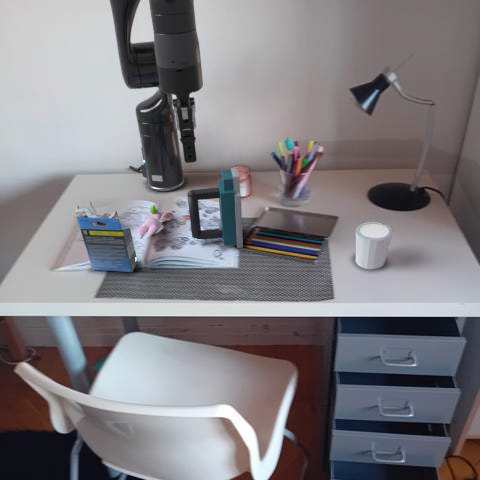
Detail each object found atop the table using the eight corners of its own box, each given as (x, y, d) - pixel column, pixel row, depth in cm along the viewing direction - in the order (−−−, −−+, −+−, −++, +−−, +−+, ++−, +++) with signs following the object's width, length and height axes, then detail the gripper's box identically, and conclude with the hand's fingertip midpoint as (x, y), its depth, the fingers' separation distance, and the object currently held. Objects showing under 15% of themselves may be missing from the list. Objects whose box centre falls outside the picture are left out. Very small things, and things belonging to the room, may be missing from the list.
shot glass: (375, 248, 103) (379, 218, 98) (394, 265, 98) (400, 234, 93) (345, 256, 101) (348, 226, 97) (364, 274, 96) (368, 243, 92)
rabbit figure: (150, 221, 120) (131, 245, 107) (147, 196, 117) (126, 218, 104) (176, 221, 119) (159, 246, 106) (173, 196, 116) (156, 219, 103)
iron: (243, 247, 106) (193, 252, 105) (239, 231, 111) (192, 235, 111) (240, 179, 96) (185, 183, 95) (236, 164, 101) (184, 168, 101)
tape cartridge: (139, 262, 104) (127, 208, 96) (132, 273, 101) (119, 218, 93) (99, 260, 105) (83, 207, 97) (91, 270, 102) (75, 216, 94)
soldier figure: (96, 213, 123) (130, 207, 117) (93, 232, 123) (128, 227, 116) (70, 202, 117) (104, 195, 110) (67, 222, 116) (101, 216, 110)
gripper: (156, 51, 90) (169, 140, 101) (156, 73, 79) (170, 170, 90) (198, 47, 91) (206, 137, 101) (203, 68, 80) (212, 166, 90)
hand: (189, 152), depth 96 cm, fingers open, 8 cm apart
